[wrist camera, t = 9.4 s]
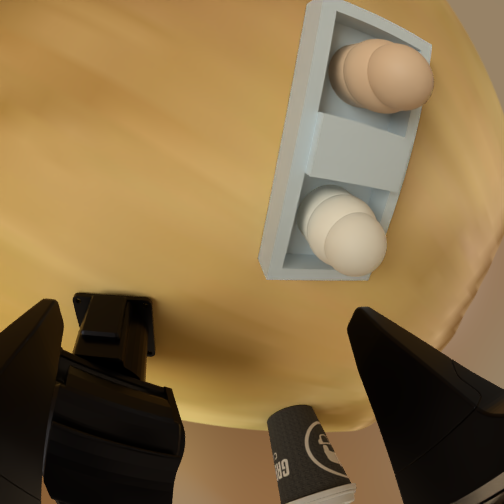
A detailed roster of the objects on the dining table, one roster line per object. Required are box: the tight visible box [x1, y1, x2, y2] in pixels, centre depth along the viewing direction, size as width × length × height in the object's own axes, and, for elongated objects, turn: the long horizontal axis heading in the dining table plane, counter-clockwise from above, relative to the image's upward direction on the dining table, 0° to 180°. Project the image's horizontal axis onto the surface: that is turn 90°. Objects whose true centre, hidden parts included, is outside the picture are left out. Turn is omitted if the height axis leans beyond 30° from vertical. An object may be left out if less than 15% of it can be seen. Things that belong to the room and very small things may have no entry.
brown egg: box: [328, 39, 434, 114], centre depth 13 cm, size 5×5×6 cm
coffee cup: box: [267, 405, 356, 504], centre depth 30 cm, size 10×10×15 cm
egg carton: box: [258, 0, 432, 280], centre depth 17 cm, size 18×8×3 cm, turn 171°
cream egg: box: [297, 184, 387, 277], centre depth 18 cm, size 5×5×6 cm
